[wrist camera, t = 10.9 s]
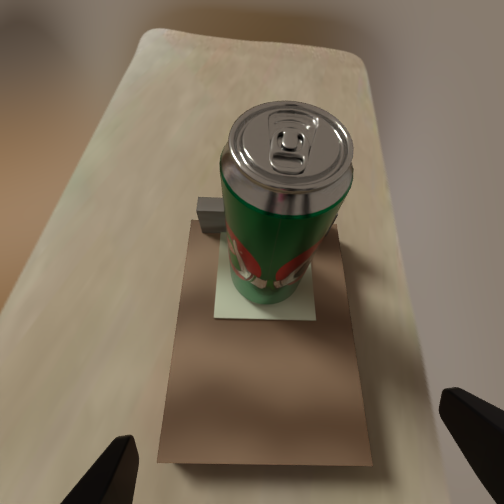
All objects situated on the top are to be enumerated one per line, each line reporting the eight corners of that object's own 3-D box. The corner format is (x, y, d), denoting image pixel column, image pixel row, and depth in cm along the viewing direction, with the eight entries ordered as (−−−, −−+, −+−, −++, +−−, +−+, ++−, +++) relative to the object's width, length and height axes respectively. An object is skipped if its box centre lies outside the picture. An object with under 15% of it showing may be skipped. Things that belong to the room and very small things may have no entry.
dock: (359, 458, 17) (400, 482, 12) (165, 455, 17) (137, 478, 12) (329, 236, 24) (349, 201, 20) (195, 232, 24) (184, 196, 19)
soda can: (300, 248, 21) (361, 101, 10) (297, 311, 19) (370, 208, 8) (236, 239, 21) (230, 86, 10) (225, 301, 19) (202, 187, 8)
